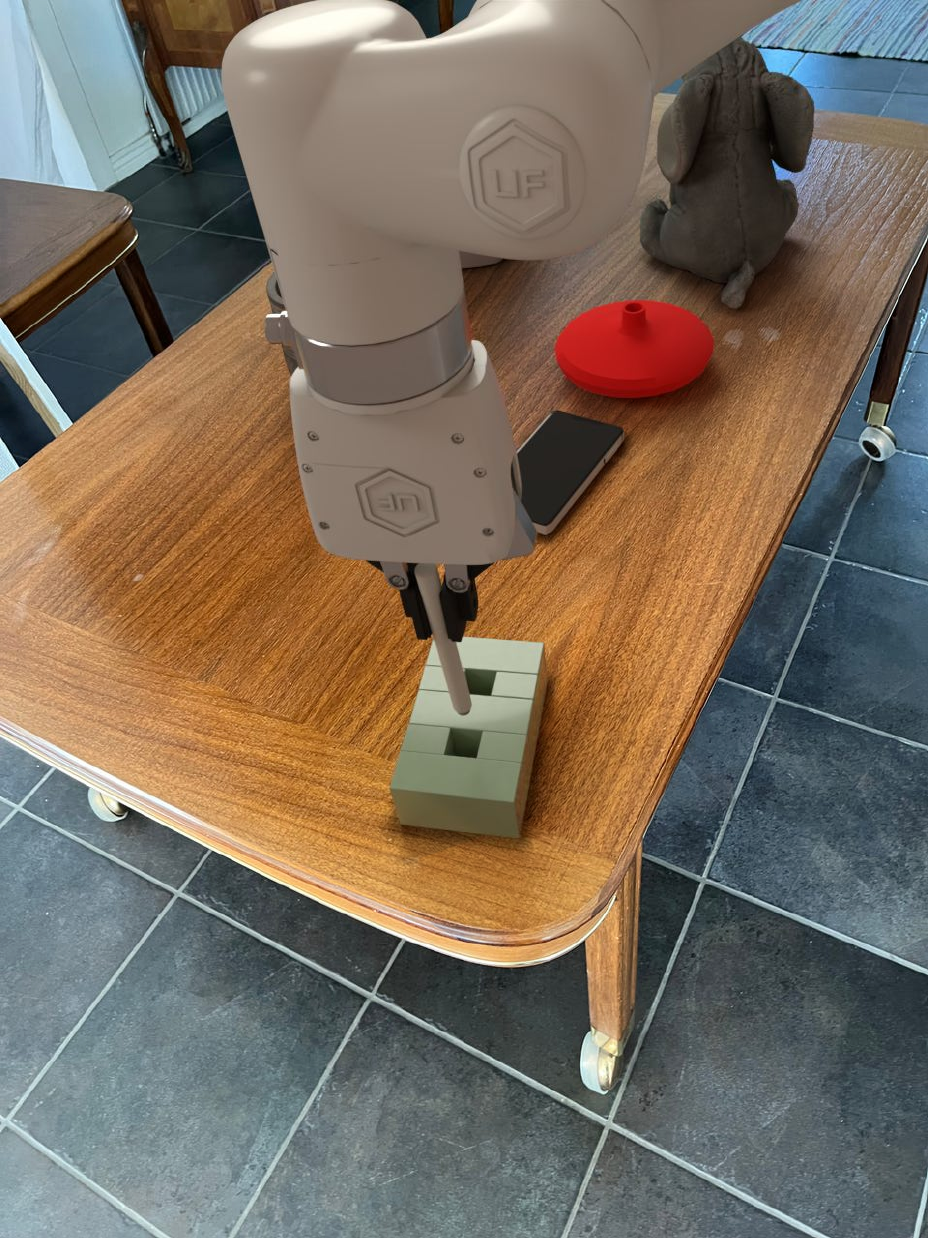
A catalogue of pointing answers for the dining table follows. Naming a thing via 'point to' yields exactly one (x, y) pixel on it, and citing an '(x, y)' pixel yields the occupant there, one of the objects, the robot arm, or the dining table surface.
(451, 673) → the grey cylindrical rod
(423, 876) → the dining table surface
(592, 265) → the dining table surface
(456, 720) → the pen holder
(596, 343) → the red disc with nozzle
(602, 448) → the smartphone
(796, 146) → the stuffed elephant
